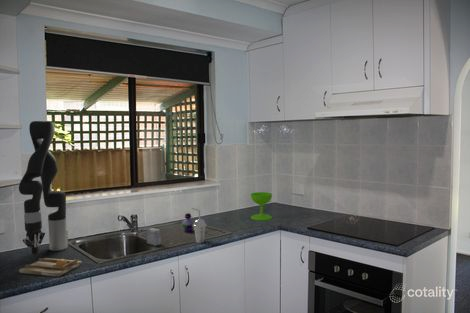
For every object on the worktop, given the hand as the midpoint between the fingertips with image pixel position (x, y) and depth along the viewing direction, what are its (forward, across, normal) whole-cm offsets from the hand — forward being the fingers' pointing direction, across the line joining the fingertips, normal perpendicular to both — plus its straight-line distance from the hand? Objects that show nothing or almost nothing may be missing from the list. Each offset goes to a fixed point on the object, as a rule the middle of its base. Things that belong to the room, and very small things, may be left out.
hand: (35, 254), depth 195 cm
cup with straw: (+7, -57, +67) cm, 88 cm away
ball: (+3, +1, +16) cm, 17 cm away
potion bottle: (+8, -77, +52) cm, 93 cm away
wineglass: (+9, -125, +92) cm, 155 cm away
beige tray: (+6, +2, +10) cm, 12 cm away
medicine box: (+7, -47, +42) cm, 63 cm away
